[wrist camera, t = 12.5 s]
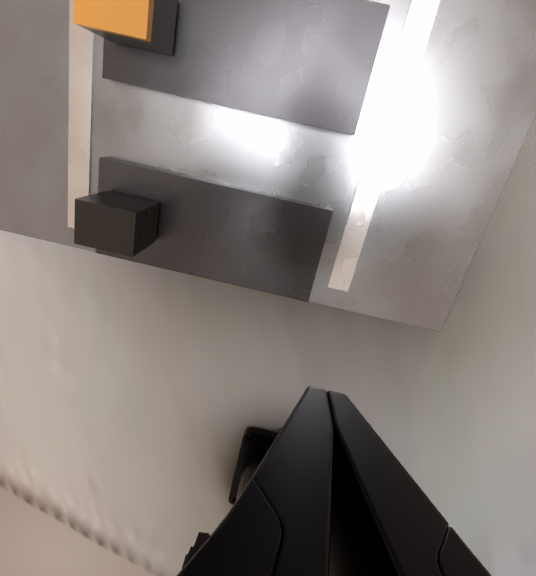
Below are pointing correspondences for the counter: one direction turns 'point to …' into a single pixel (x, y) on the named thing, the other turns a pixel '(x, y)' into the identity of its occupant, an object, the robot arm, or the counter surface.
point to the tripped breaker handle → (130, 22)
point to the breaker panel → (274, 142)
